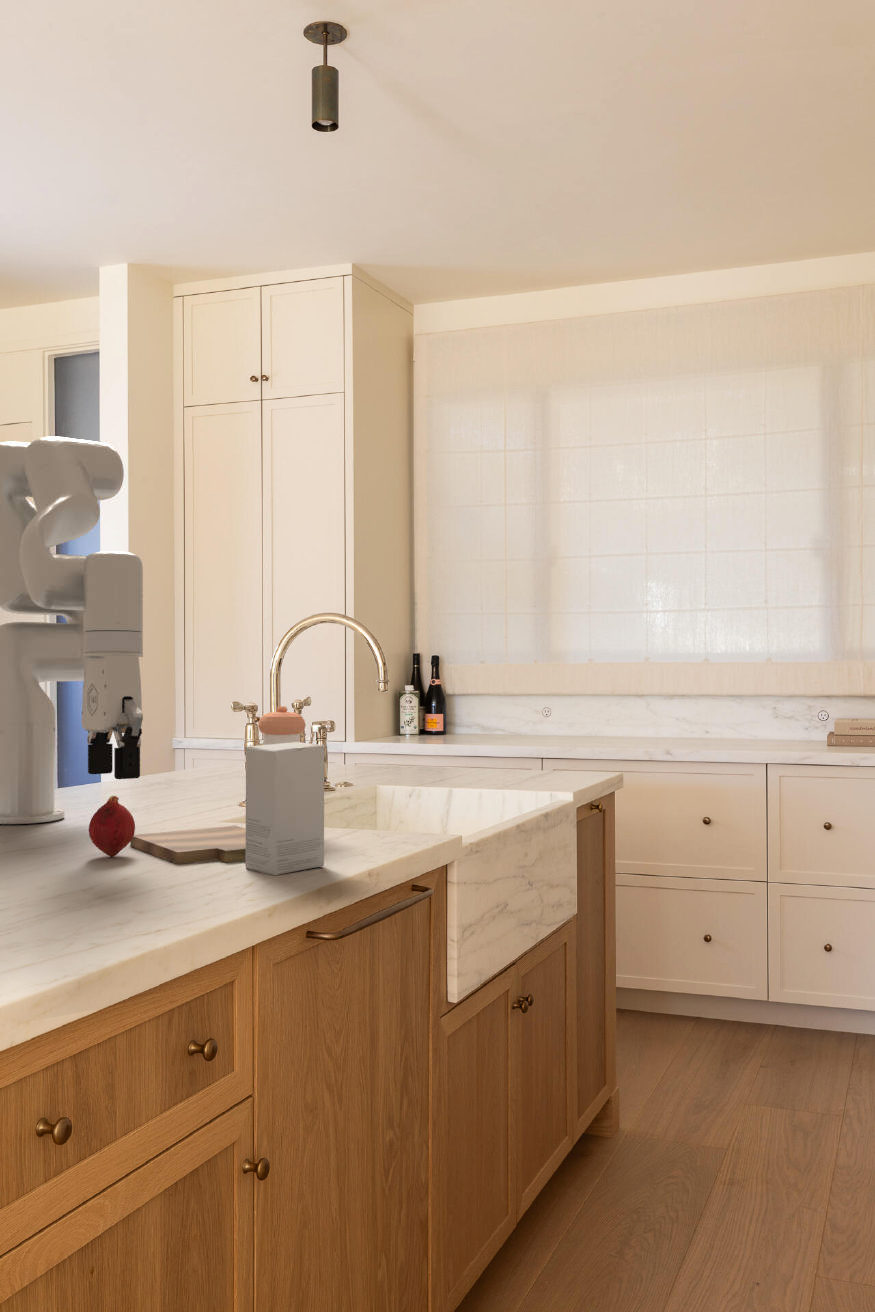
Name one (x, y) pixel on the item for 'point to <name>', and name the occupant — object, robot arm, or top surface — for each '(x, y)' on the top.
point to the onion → (111, 827)
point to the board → (195, 844)
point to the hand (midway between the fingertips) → (113, 776)
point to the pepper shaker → (281, 726)
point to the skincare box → (284, 807)
